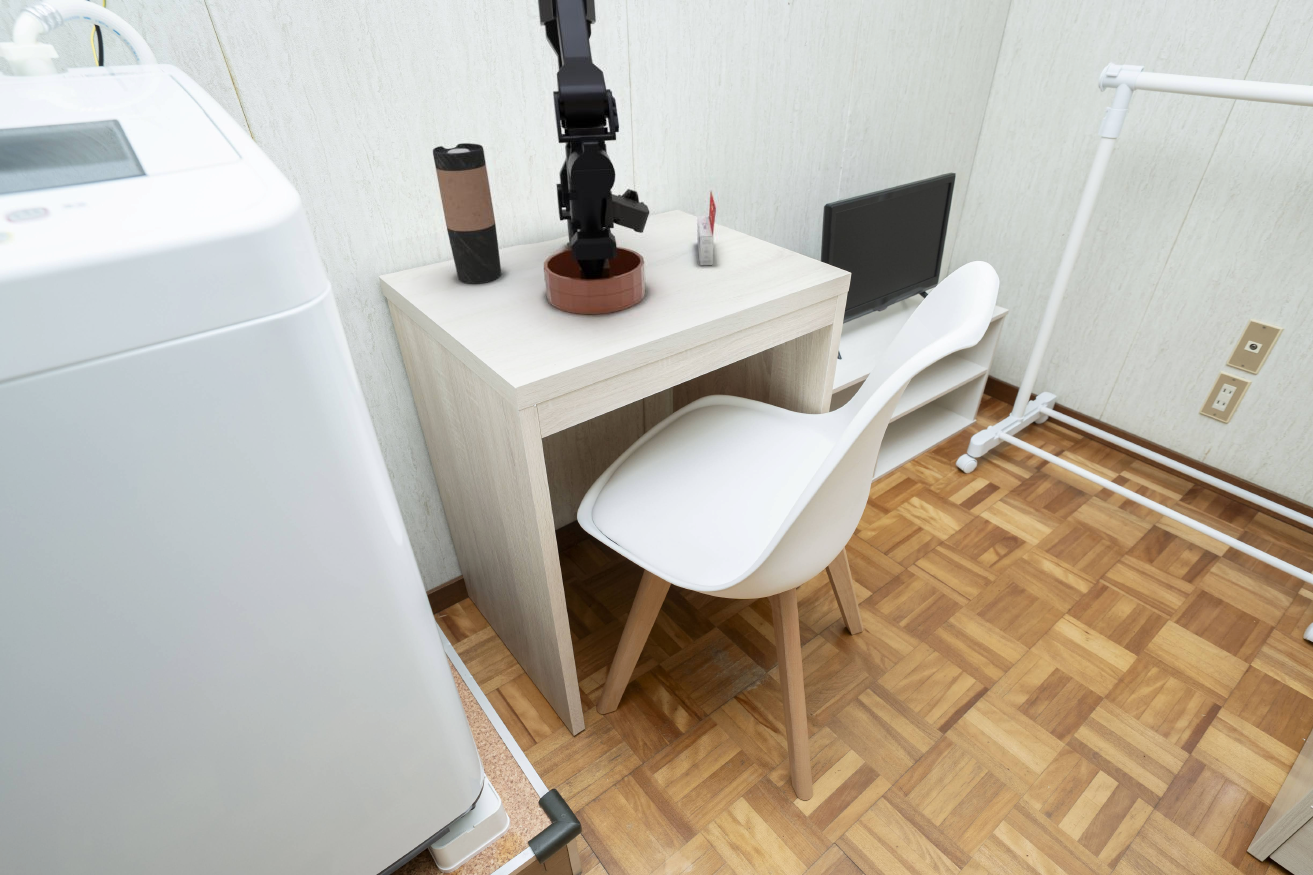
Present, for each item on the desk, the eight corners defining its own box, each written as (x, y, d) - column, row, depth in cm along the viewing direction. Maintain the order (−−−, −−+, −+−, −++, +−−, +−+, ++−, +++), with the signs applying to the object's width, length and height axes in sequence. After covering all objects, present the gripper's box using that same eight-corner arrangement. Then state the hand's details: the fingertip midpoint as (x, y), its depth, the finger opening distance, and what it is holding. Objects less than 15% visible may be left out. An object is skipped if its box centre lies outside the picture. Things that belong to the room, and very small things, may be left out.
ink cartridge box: (699, 266, 114) (701, 207, 108) (696, 244, 123) (697, 190, 117) (714, 265, 114) (716, 207, 108) (709, 244, 123) (711, 189, 117)
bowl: (548, 279, 110) (544, 248, 107) (639, 274, 111) (638, 243, 108) (546, 317, 97) (542, 283, 94) (649, 310, 99) (649, 277, 96)
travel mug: (492, 285, 108) (470, 154, 96) (448, 283, 109) (422, 153, 98) (510, 269, 114) (491, 143, 102) (468, 266, 115) (445, 142, 104)
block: (581, 286, 106) (579, 259, 103) (609, 285, 106) (607, 258, 103) (582, 297, 102) (580, 269, 99) (611, 295, 102) (609, 268, 100)
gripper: (651, 194, 88) (654, 305, 96) (638, 163, 103) (641, 261, 112) (566, 199, 87) (577, 310, 95) (565, 166, 102) (574, 265, 111)
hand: (595, 284), depth 103 cm, fingers closed on block, 4 cm apart
